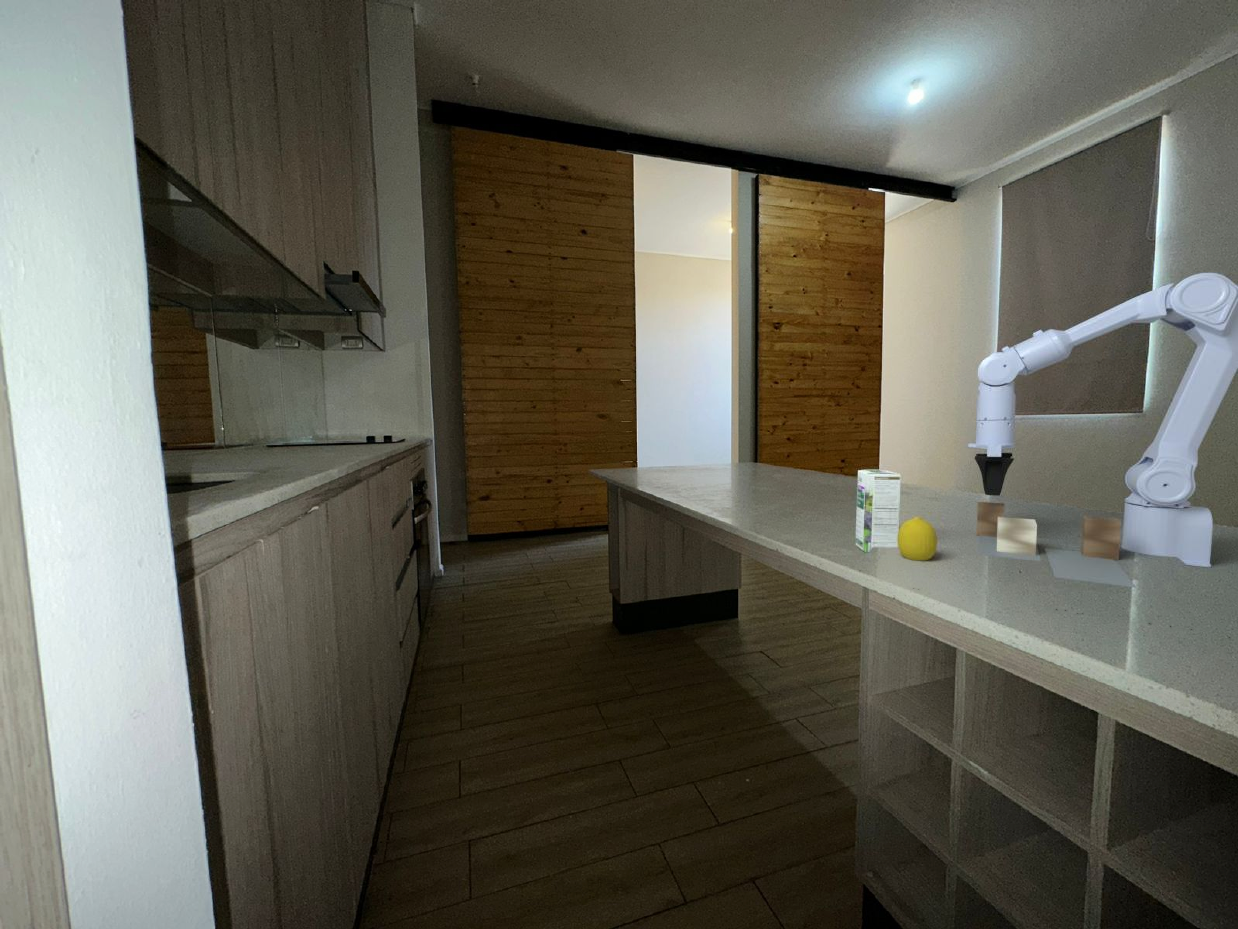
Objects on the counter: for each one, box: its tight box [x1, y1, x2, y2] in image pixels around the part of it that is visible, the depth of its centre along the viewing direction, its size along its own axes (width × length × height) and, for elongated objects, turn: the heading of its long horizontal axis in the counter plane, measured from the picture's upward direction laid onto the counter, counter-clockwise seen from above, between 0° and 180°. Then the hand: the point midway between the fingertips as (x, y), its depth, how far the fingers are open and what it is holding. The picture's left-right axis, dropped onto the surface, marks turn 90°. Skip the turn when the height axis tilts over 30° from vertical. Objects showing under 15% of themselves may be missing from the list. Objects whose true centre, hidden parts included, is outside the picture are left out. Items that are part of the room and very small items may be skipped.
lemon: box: [897, 516, 938, 562], centre depth 80 cm, size 6×6×8 cm
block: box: [997, 516, 1038, 555], centre depth 83 cm, size 5×5×5 cm
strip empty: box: [1044, 515, 1137, 588], centre depth 74 cm, size 8×18×7 cm, turn 143°
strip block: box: [976, 501, 1042, 562], centre depth 86 cm, size 8×18×7 cm, turn 143°
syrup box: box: [855, 468, 902, 553], centre depth 90 cm, size 6×6×14 cm
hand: (992, 492), depth 93 cm, fingers open, 7 cm apart
